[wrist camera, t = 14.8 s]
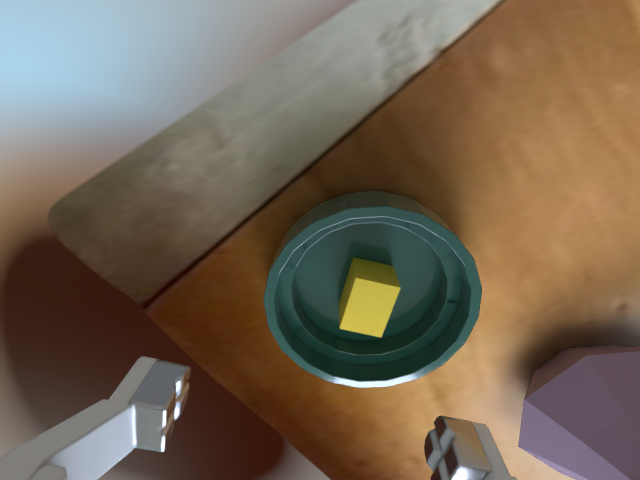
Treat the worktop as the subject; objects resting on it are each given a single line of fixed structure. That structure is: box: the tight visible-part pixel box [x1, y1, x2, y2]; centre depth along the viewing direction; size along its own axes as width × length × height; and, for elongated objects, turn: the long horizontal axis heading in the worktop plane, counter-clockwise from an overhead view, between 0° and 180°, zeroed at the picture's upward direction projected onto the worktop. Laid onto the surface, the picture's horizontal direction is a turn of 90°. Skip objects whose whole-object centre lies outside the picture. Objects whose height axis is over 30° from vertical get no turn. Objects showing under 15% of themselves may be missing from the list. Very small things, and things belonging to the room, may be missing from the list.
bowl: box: [264, 191, 482, 388], centre depth 28 cm, size 17×17×4 cm
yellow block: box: [339, 257, 401, 337], centre depth 28 cm, size 5×4×4 cm
